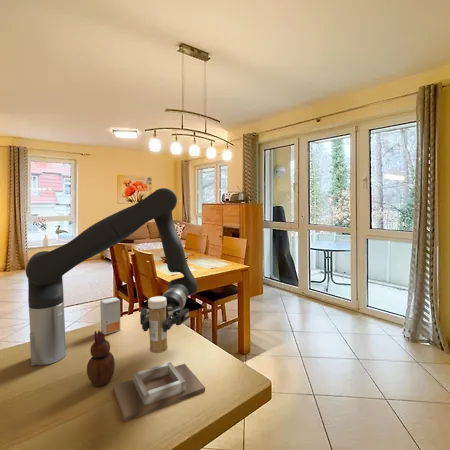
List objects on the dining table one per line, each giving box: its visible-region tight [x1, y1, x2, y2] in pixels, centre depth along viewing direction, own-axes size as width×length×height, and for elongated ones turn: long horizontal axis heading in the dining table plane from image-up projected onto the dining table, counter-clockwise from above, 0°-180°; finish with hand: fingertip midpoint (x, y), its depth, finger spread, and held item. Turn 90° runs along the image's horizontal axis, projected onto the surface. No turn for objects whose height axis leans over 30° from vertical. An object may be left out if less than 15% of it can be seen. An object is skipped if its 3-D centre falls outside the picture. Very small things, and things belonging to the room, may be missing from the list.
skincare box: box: [99, 296, 121, 336], centre depth 110 cm, size 6×4×12 cm
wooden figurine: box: [86, 329, 116, 387], centre depth 78 cm, size 7×6×15 cm
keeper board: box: [112, 362, 206, 422], centre depth 75 cm, size 20×13×4 cm, turn 121°
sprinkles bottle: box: [147, 295, 168, 355], centre depth 74 cm, size 5×5×13 cm
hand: (154, 327), depth 72 cm, fingers closed on sprinkles bottle, 4 cm apart
